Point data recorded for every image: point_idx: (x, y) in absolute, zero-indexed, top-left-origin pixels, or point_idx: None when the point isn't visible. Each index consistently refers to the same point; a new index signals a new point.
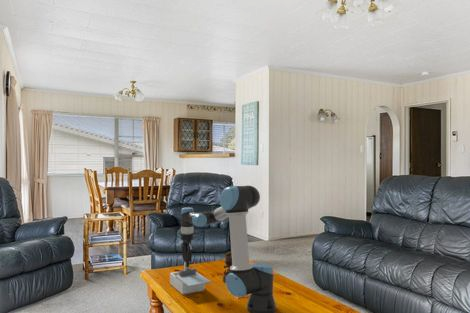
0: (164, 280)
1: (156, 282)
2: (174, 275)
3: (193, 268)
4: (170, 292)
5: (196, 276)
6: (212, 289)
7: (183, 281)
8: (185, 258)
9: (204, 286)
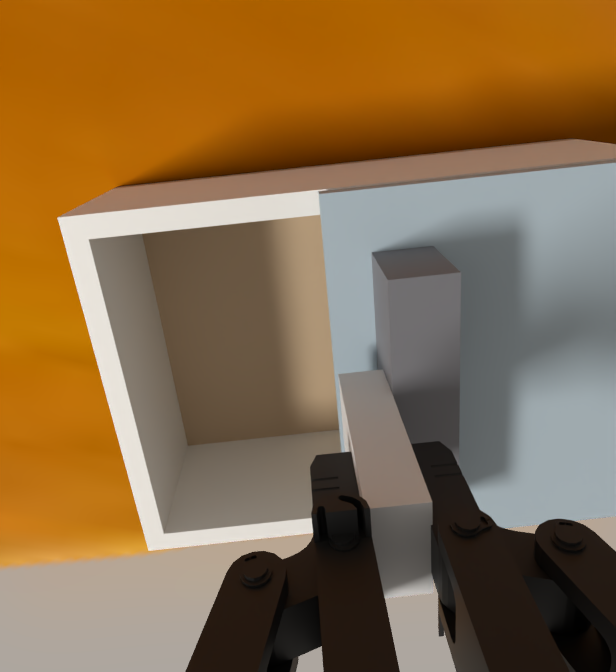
0: (22, 476)
1: (71, 554)
2: (282, 524)
3: (396, 307)
4: None
5: (563, 279)
6: (590, 2)
7: None
8: (458, 667)
9: (600, 143)
